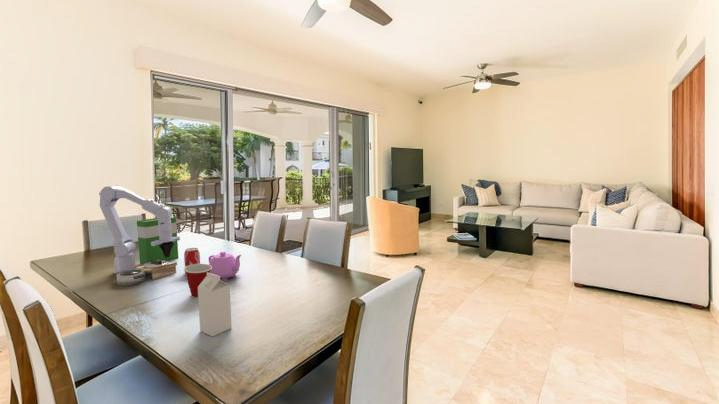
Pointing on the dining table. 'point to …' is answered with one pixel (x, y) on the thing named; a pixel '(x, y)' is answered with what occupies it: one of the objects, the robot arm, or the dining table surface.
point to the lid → (155, 264)
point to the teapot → (224, 265)
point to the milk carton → (214, 305)
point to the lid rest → (159, 270)
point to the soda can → (191, 256)
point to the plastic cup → (196, 276)
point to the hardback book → (150, 233)
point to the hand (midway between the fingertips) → (167, 256)
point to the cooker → (130, 277)
